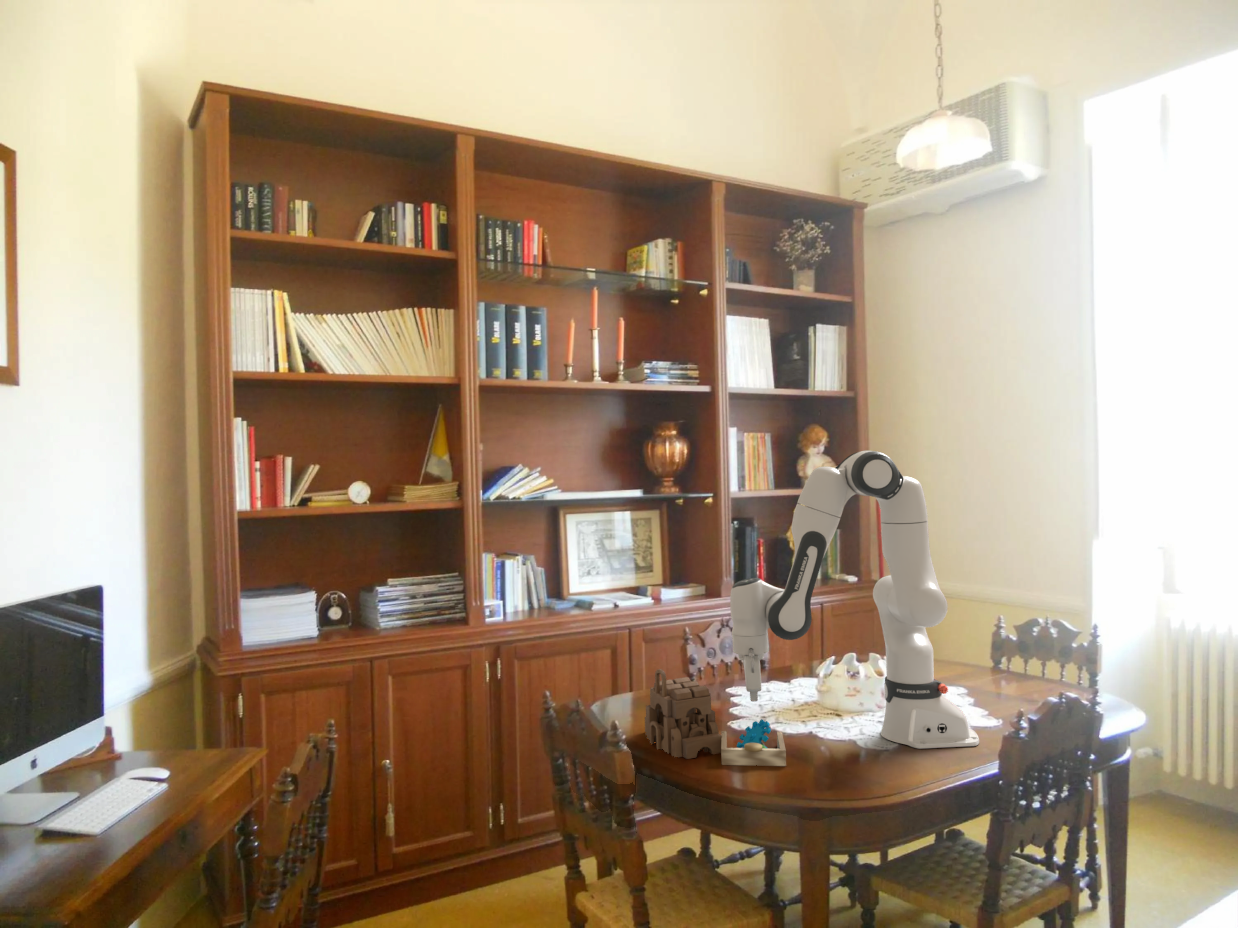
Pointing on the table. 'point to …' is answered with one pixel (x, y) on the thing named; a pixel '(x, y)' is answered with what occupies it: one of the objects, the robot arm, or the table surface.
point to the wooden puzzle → (681, 717)
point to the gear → (755, 734)
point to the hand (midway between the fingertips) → (754, 699)
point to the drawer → (753, 753)
